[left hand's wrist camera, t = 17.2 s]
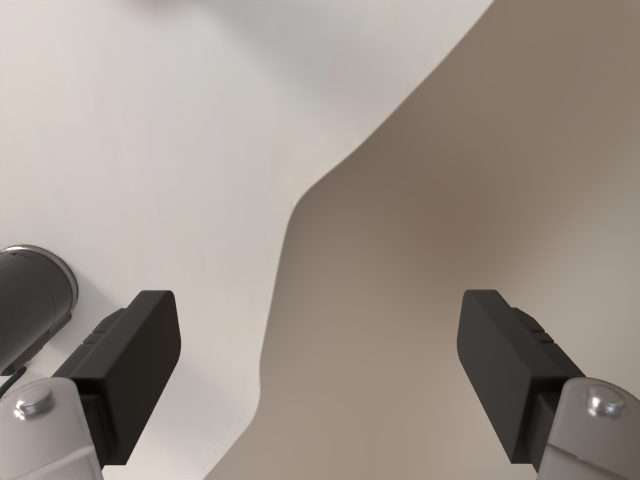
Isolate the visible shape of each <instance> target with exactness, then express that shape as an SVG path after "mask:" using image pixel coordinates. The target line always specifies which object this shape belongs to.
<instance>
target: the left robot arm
mask: <svg viewBox="0 0 640 480" xmlns="http://www.w3.org/2000/svg"><path fill="white" fill-rule="evenodd" d="M77 295H78V291H77V284H76V281H75V279H74V276H73V275H72V273H71V271H70V270H69V268H68V267H67V266H66V265H65V264H64V263H63V262H62V261H61V260H60V259H59V258H57V257H56V256H55V255H53V254H51V253H50V252H48V251H46V250H43V249H41V248H38V247H34V246H28V245H17V246H11V247H8V248H6V249H4V250H2V251H0V376H10V375H13V374H14V375H13V376H12V377H11V378H9V379H8V380H7V381H6V382H5V383H4V384H3V385H2V386H1V387H0V398H1V397H2V395H3V394H4V393H5V392H6V391H7V390H8V389H9V388H10V387H11V386H12V385H13V384H14V383H15V382H16V381H17V380H18V379H19V378H20V377H21V376H22V375H23V374H24V373H25V371H26V367H25V366H23V365H24V364H25V363H26V362H27V361H30V360H31V359H32V358H33V357H34V356H35V355H36V354H37V353H38V352H39V351H40V350H41V349H42V348H43V346H44V345H45V344H46V343H47V342H48V341H49V340H50V339H51V338H52V337H53V336H54V335H55V334H56V333H57V332H59V331H60V330H61V329H62V328H63V327H64V326H65V325H66V324H67V323H68V322H69V321H70V320H71V316H70V311H71V310H72V309H73V307H74V306H75V304H76V301H77ZM92 332H93V333H92V334H90V335H89V336H88V337H87V338H86V339H85V340H84V341H83V344H81V345H80V346H79V347H78V348H77V349H76V350H75V351H74V352H73V353H72V354H71V356H70V357H69V358H68V359H67V360H66V361H65V362H64V363H63V364H62V366H61V367H60V368H59V369H58V370H57V371H56V372H55V373H54V374H53V375H52V377H51V378H45V379H40V380H37V381H34V382H31V383H28V384H26V385H24V386H22V387H19V388H18V389H16V390H14V391H12V392H11V393H9V394H8V395H7V396H5V397H4V398H3V399H2V400H1V401H0V480H104V479H103V475H102V472H101V471H102V469H103V467H104V466H105V465H126V463H127V461H128V459H129V457H130V455H131V453H132V451H133V449H134V447H135V445H136V443H137V441H138V439H139V437H140V435H141V434H142V432H143V430H144V428H145V426H146V424H147V422H148V420H149V418H150V416H151V414H152V412H153V410H154V408H155V406H156V404H157V402H158V400H159V398H160V396H161V394H162V392H163V390H164V388H165V386H166V384H167V382H168V380H169V378H170V376H171V374H172V372H173V370H174V368H175V366H176V364H177V362H178V360H179V356H180V351H181V336H180V330H179V323H178V316H177V310H176V303H175V297H174V294H173V292H172V291H170V290H143V291H141V292H140V293H139V294H138V295H137V296H136V298H135V299H134V300H133V301H132V302H131V303H130V305H129V306H128V307H127V308H121V309H119V310H118V311H116V312H114V313H113V314H111V315H109V316H108V317H106V318H104V319H103V320H102V321H101V323H100V324H99V325H98V326H97V327H96V328H95V329H94V330H93V331H92ZM457 351H458V356H459V359H460V362H461V364H462V366H463V368H464V370H465V372H466V374H467V376H468V378H469V380H470V382H471V384H472V386H473V388H474V390H475V392H476V394H477V396H478V398H479V400H480V402H481V404H482V406H483V408H484V410H485V412H486V414H487V416H488V418H489V420H490V422H491V424H492V426H493V428H494V430H495V432H496V434H497V436H498V438H499V440H500V442H501V444H502V446H503V448H504V450H505V452H506V454H507V456H508V458H509V460H510V462H511V463H512V464H532V465H533V467H534V468H535V470H536V472H537V474H538V475H537V479H536V480H640V401H639V400H638V399H637V398H636V397H635V396H633V395H632V394H630V393H629V392H628V391H626V390H624V389H622V388H620V387H618V386H616V385H614V384H612V383H609V382H606V381H603V380H600V379H595V378H588V377H586V376H585V375H584V374H583V373H582V371H581V370H580V369H579V368H578V367H577V366H576V365H575V364H574V363H573V361H572V360H571V359H570V358H569V357H568V356H567V355H566V354H565V353H564V351H563V350H562V349H561V348H560V347H559V346H558V345H557V344H554V340H553V339H552V338H551V337H550V336H549V335H548V334H547V333H545V330H544V329H543V328H542V327H541V326H540V325H539V324H538V323H537V321H536V320H535V319H534V318H533V317H531V316H529V315H528V314H526V313H524V312H523V311H521V310H519V309H518V308H511V307H510V306H509V305H508V303H507V302H506V301H505V300H504V299H503V298H502V296H501V295H500V294H499V293H498V292H497V291H496V290H466V291H465V293H464V296H463V301H462V308H461V315H460V321H459V328H458V335H457Z"/></svg>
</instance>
